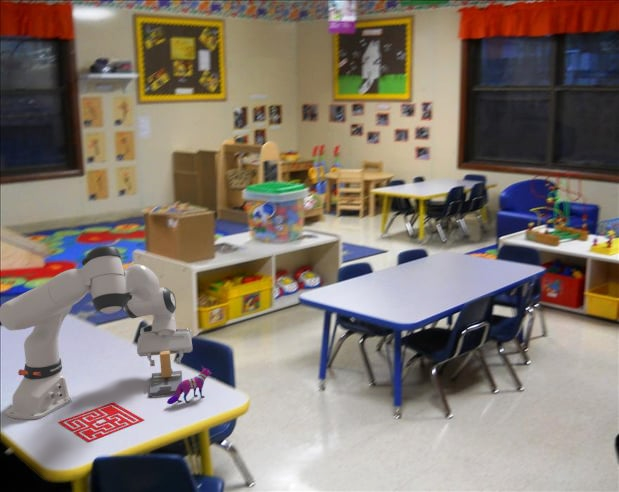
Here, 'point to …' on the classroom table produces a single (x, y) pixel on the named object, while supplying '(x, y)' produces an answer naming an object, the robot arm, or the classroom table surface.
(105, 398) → the classroom table surface
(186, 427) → the classroom table surface
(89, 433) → the maze puzzle
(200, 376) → the purple fox figurine
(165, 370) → the fader cap
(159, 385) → the fader board
